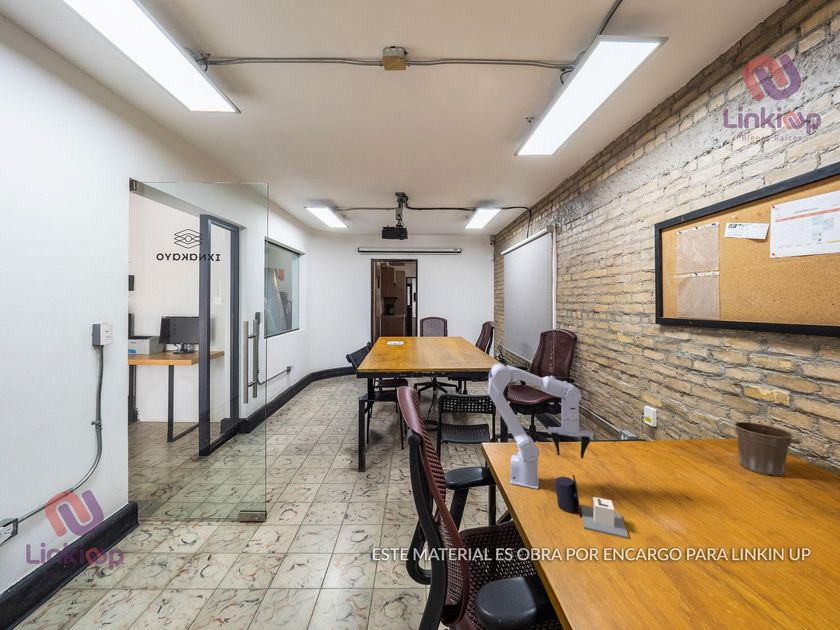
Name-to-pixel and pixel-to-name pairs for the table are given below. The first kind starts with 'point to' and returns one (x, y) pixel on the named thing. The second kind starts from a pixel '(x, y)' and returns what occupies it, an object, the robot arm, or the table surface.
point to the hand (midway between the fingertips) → (570, 455)
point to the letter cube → (603, 511)
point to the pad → (589, 524)
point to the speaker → (567, 494)
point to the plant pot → (763, 447)
